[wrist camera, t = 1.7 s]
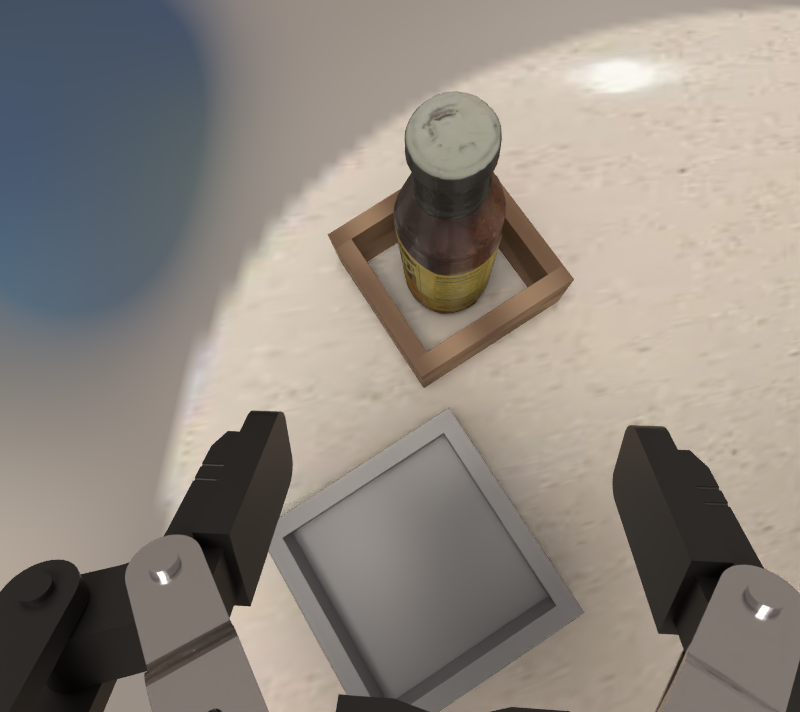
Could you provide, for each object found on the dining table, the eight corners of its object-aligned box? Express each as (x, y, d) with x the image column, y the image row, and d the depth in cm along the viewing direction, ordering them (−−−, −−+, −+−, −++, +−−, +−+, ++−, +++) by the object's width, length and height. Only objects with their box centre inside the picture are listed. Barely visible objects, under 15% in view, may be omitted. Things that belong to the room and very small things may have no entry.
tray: (448, 412, 40) (448, 407, 36) (570, 598, 37) (584, 612, 33) (273, 525, 39) (257, 531, 36) (384, 725, 36) (378, 752, 33)
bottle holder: (468, 180, 43) (471, 144, 38) (557, 301, 41) (573, 279, 36) (340, 260, 43) (327, 234, 38) (423, 387, 40) (421, 377, 35)
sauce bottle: (413, 236, 43) (391, 45, 23) (492, 245, 42) (538, 58, 23) (400, 316, 41) (364, 185, 22) (481, 327, 41) (520, 203, 21)
